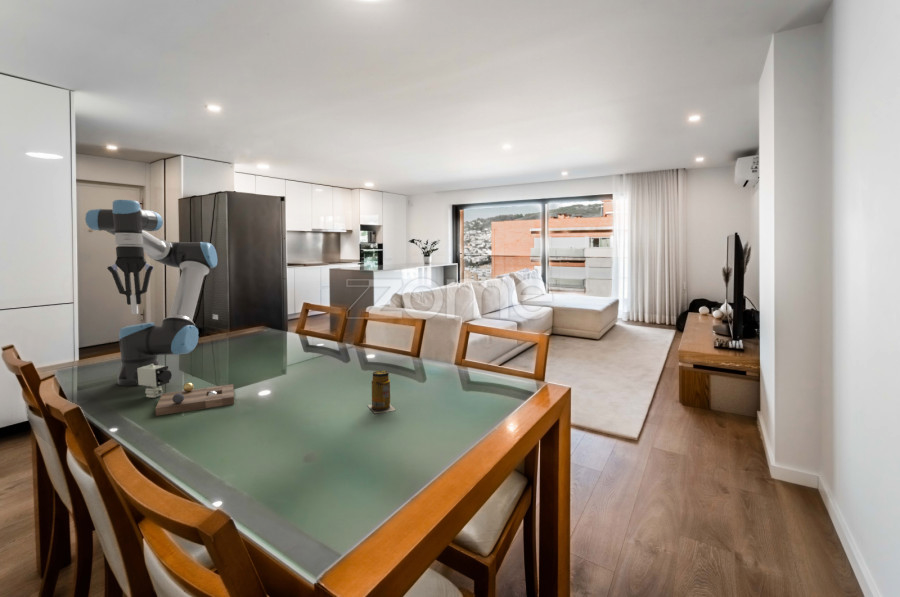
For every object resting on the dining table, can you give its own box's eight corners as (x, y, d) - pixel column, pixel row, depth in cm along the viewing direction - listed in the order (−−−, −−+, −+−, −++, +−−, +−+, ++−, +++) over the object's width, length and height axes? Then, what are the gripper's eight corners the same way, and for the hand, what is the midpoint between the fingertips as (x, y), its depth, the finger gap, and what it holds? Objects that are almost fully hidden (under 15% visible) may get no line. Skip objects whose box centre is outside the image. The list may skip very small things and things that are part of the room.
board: (162, 400, 144) (162, 393, 144) (233, 390, 155) (233, 384, 154) (155, 415, 130) (155, 408, 130) (234, 403, 141) (233, 396, 140)
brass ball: (183, 391, 147) (183, 382, 146) (194, 389, 148) (193, 381, 148) (183, 393, 144) (182, 384, 143) (193, 392, 145) (193, 383, 145)
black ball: (173, 402, 135) (172, 392, 135) (184, 400, 137) (184, 391, 136) (172, 405, 132) (171, 395, 132) (183, 403, 134) (183, 394, 133)
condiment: (388, 402, 142) (387, 368, 141) (396, 410, 134) (395, 374, 133) (367, 405, 139) (366, 371, 137) (374, 414, 131) (373, 377, 130)
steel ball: (205, 396, 144) (211, 388, 145) (214, 400, 146) (219, 392, 147) (205, 399, 142) (211, 391, 142) (214, 403, 143) (219, 395, 144)
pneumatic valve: (162, 399, 145) (159, 366, 144) (134, 397, 147) (132, 364, 146) (175, 394, 150) (173, 362, 149) (149, 392, 153) (146, 361, 151)
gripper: (102, 245, 135) (108, 316, 138) (151, 245, 141) (156, 313, 144) (108, 246, 142) (114, 313, 144) (154, 246, 148) (159, 311, 150)
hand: (135, 313), depth 144 cm, fingers closed
